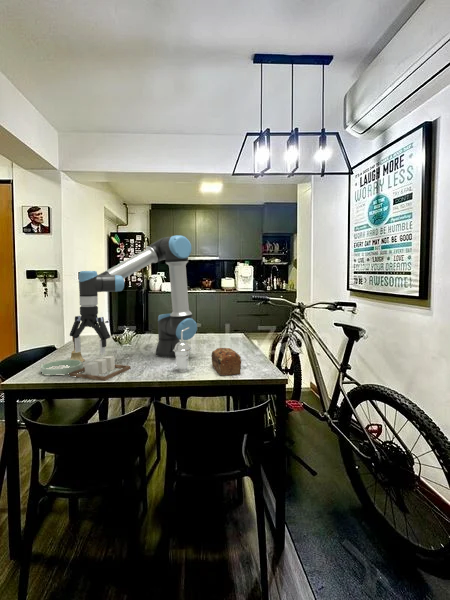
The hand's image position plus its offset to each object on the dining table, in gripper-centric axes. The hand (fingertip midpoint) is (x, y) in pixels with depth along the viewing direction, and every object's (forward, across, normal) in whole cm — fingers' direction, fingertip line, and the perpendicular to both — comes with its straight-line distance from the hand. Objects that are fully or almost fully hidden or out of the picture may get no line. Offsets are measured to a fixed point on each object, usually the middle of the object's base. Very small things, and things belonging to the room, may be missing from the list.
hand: (90, 353), depth 160 cm
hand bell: (+11, +26, -20) cm, 34 cm away
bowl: (+11, +20, -4) cm, 23 cm away
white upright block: (+10, 0, -12) cm, 16 cm away
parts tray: (+10, 0, -6) cm, 12 cm away
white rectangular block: (+11, 0, 0) cm, 11 cm away
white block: (+10, 0, -6) cm, 12 cm away
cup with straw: (+10, -35, -21) cm, 43 cm away
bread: (+10, -54, -28) cm, 62 cm away
